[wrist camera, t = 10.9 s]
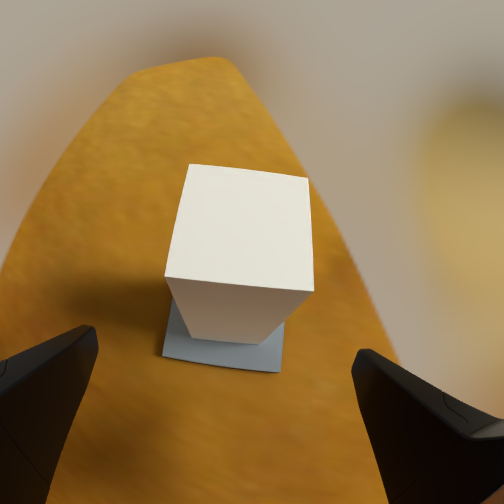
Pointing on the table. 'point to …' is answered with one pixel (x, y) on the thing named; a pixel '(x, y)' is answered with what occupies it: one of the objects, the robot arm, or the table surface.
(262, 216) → the tall block
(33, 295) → the table surface
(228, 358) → the slate mat
